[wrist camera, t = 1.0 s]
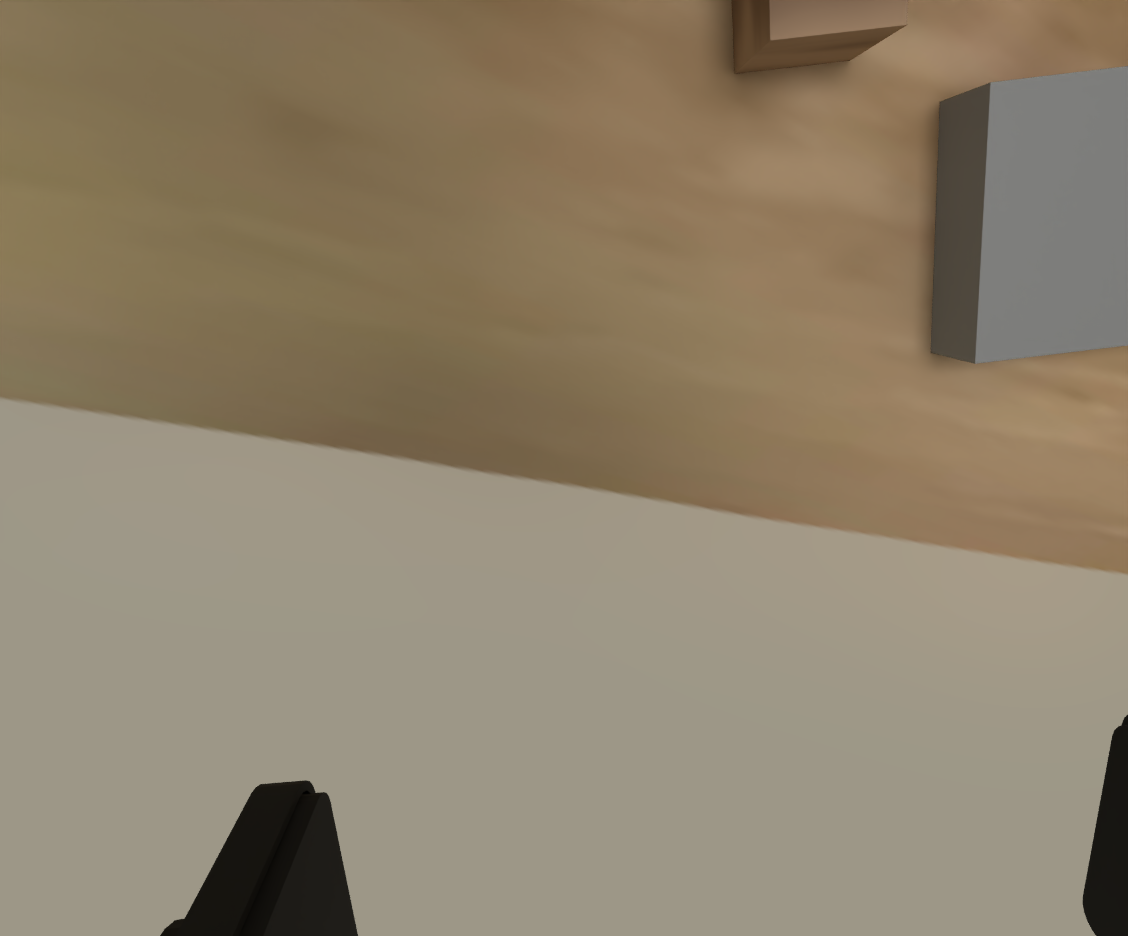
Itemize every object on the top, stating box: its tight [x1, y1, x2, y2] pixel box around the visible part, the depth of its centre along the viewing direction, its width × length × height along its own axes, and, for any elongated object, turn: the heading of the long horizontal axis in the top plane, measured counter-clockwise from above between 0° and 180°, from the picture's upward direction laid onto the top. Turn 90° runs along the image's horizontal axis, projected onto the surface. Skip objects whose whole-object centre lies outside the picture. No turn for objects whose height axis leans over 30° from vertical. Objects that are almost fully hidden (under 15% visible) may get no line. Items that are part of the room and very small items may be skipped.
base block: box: [931, 66, 1128, 364], centre depth 31 cm, size 11×11×4 cm
